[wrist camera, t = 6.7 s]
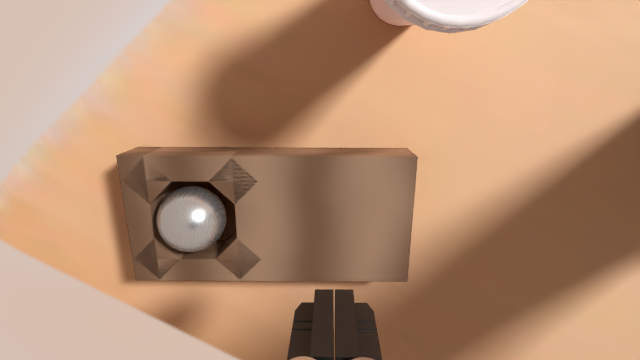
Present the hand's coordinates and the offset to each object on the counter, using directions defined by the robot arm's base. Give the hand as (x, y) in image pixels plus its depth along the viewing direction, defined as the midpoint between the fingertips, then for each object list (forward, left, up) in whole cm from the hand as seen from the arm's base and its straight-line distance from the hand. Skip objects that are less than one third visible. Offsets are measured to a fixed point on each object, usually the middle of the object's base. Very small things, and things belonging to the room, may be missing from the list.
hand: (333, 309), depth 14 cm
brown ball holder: (+4, -1, -10) cm, 11 cm away
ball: (+8, 0, -8) cm, 12 cm away
